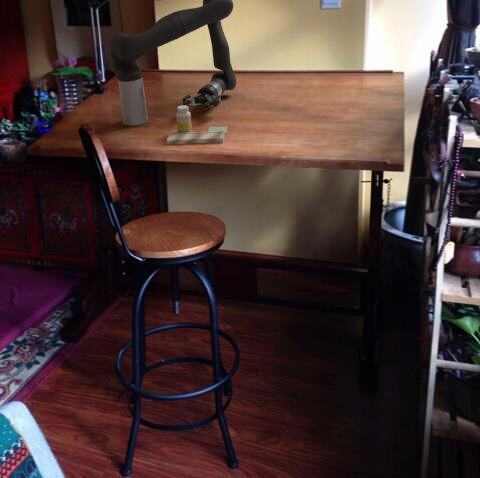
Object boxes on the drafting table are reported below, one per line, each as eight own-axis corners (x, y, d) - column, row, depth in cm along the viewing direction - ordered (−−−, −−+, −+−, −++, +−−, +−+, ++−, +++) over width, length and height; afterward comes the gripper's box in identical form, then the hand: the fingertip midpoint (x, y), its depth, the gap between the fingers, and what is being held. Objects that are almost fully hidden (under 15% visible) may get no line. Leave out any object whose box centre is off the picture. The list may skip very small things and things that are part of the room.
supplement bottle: (185, 135, 228) (182, 110, 223) (175, 133, 231) (172, 107, 226) (195, 131, 231) (193, 106, 226) (185, 128, 234) (182, 103, 229)
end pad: (207, 134, 227) (207, 133, 227) (209, 127, 233) (209, 127, 233) (226, 133, 227) (226, 133, 227) (227, 127, 233) (227, 126, 233)
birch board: (167, 144, 222) (166, 140, 221) (170, 137, 228) (169, 132, 227) (223, 142, 220) (222, 138, 219) (224, 135, 226) (224, 130, 225)
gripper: (192, 83, 250) (176, 96, 237) (226, 84, 246) (211, 97, 233) (194, 101, 254) (178, 115, 241) (227, 103, 250) (213, 117, 237)
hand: (194, 106), depth 237 cm, fingers open, 8 cm apart
